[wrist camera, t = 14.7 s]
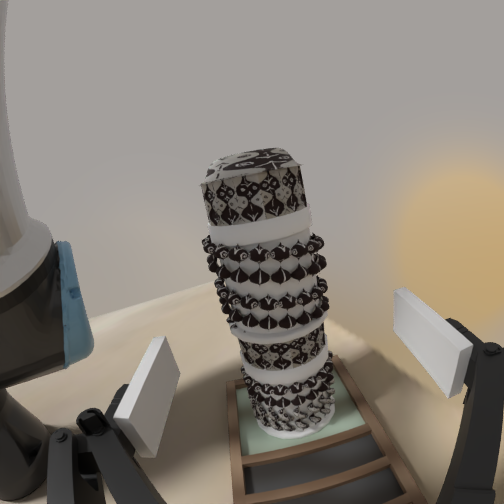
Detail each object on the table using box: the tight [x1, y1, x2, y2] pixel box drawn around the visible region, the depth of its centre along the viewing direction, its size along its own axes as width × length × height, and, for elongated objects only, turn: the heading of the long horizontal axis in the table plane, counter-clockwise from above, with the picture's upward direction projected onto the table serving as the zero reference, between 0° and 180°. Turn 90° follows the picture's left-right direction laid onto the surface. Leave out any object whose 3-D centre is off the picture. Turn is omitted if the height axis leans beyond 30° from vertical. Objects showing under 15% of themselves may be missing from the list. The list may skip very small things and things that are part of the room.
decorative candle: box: [201, 148, 335, 439], centre depth 24 cm, size 9×9×25 cm
